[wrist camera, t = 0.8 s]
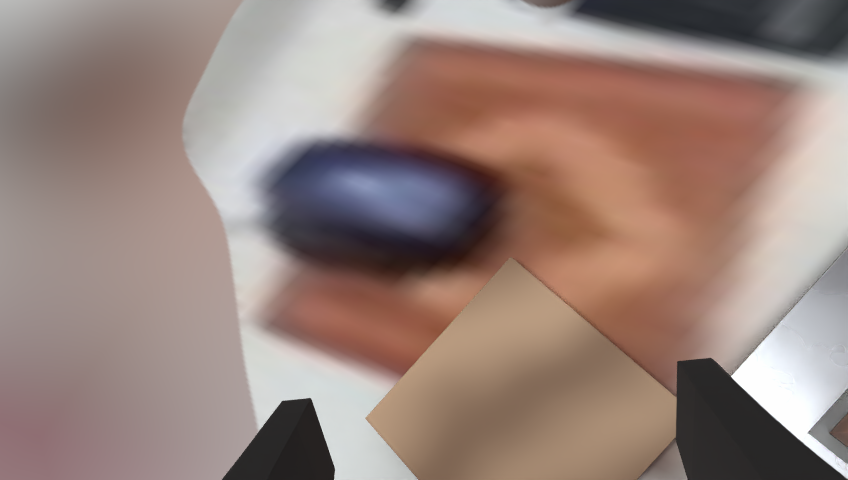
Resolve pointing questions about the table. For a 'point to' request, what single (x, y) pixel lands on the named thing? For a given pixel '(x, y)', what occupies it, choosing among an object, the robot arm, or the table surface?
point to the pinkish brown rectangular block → (841, 431)
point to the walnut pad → (525, 395)
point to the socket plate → (805, 360)
